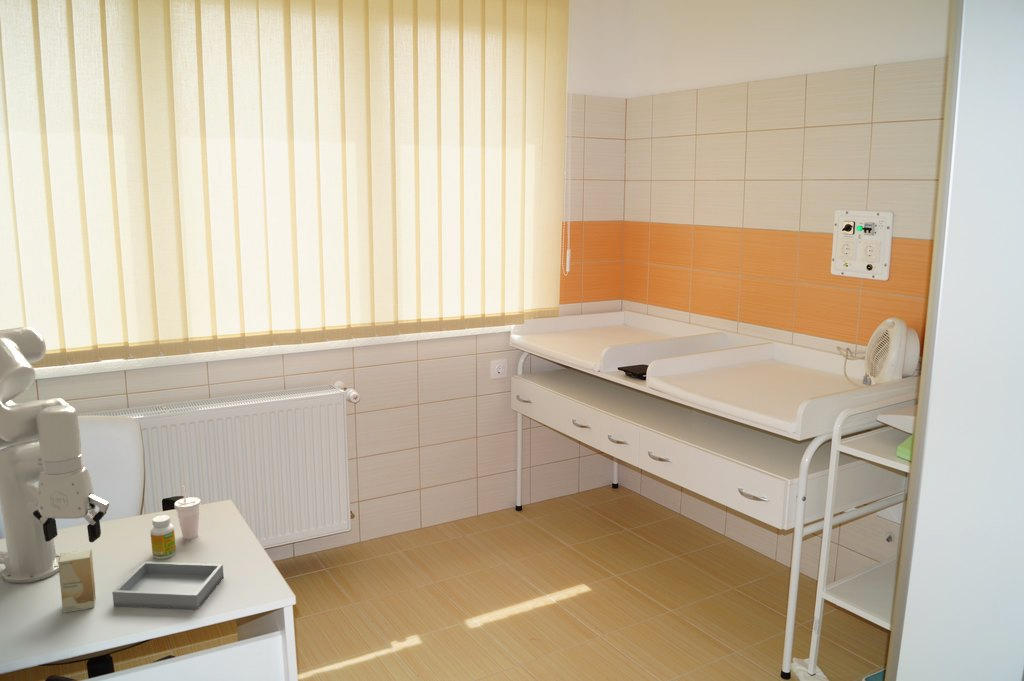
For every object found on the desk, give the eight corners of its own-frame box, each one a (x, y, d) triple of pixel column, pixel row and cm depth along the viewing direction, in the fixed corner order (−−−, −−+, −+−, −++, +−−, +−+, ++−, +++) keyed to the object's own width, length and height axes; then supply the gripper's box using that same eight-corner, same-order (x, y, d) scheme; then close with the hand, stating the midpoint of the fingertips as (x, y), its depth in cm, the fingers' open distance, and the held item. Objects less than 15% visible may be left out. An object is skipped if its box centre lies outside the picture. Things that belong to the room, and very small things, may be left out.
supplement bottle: (167, 560, 193) (163, 524, 190) (147, 558, 194) (144, 522, 191) (180, 550, 198) (177, 514, 196) (161, 548, 199) (158, 512, 197)
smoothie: (181, 531, 208) (177, 481, 205) (206, 530, 209) (202, 481, 206) (174, 542, 202) (169, 491, 199) (199, 541, 202) (195, 490, 199)
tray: (113, 606, 172) (112, 592, 172) (145, 575, 186) (144, 561, 185) (198, 609, 171) (196, 595, 171) (223, 577, 185) (222, 564, 184)
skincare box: (62, 613, 169) (56, 562, 167) (64, 603, 173) (58, 553, 171) (96, 607, 172) (90, 556, 169) (97, 597, 176) (91, 547, 173)
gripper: (11, 470, 162) (23, 546, 166) (92, 471, 161) (102, 547, 165) (35, 457, 169) (45, 530, 173) (112, 458, 168) (121, 532, 172)
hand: (73, 539), depth 169 cm, fingers open, 9 cm apart
